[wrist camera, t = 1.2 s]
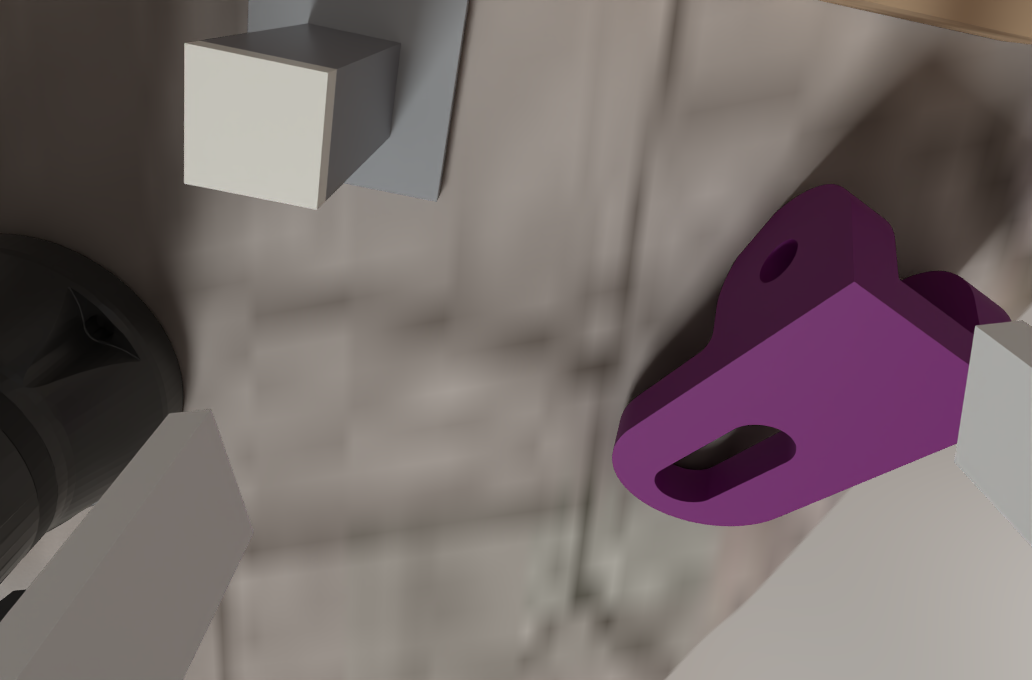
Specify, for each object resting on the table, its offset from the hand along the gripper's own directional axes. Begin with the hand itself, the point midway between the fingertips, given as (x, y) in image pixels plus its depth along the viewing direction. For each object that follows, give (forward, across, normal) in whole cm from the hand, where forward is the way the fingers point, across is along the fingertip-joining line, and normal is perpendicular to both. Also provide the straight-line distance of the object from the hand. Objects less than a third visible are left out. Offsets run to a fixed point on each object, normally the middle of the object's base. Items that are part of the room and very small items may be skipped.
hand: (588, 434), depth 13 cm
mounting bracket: (+24, +10, -12) cm, 28 cm away
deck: (+24, -8, +4) cm, 25 cm away
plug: (+23, -8, +4) cm, 25 cm away
